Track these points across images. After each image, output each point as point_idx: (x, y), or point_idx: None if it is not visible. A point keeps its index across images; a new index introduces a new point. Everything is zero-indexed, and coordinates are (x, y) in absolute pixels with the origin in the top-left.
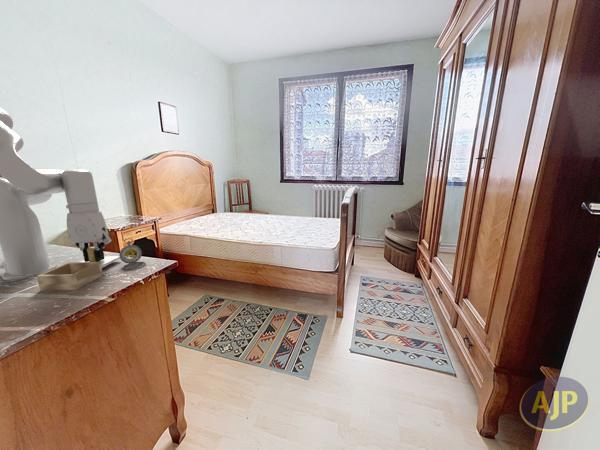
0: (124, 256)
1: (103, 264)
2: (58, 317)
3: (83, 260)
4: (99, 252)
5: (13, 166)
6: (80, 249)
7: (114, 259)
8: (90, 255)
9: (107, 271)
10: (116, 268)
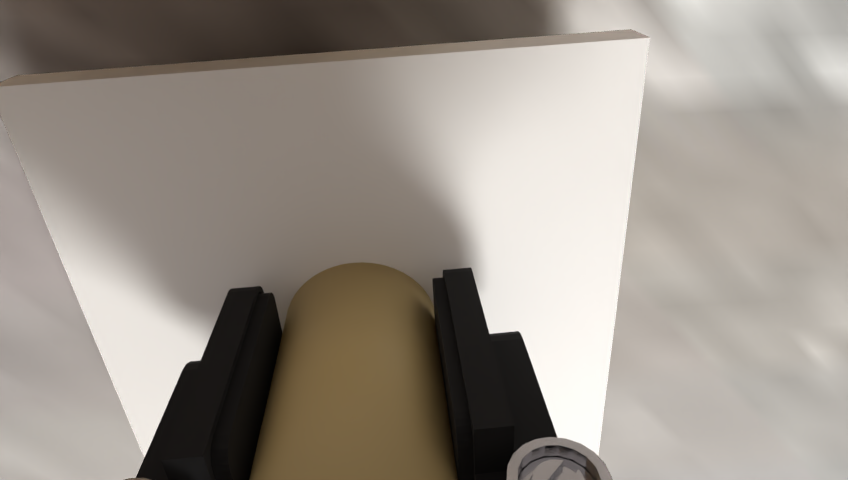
0: None
1: (51, 217)
2: None
3: (601, 349)
4: (148, 454)
5: None
6: (593, 469)
7: (134, 421)
8: (338, 361)
9: None
10: (58, 276)
